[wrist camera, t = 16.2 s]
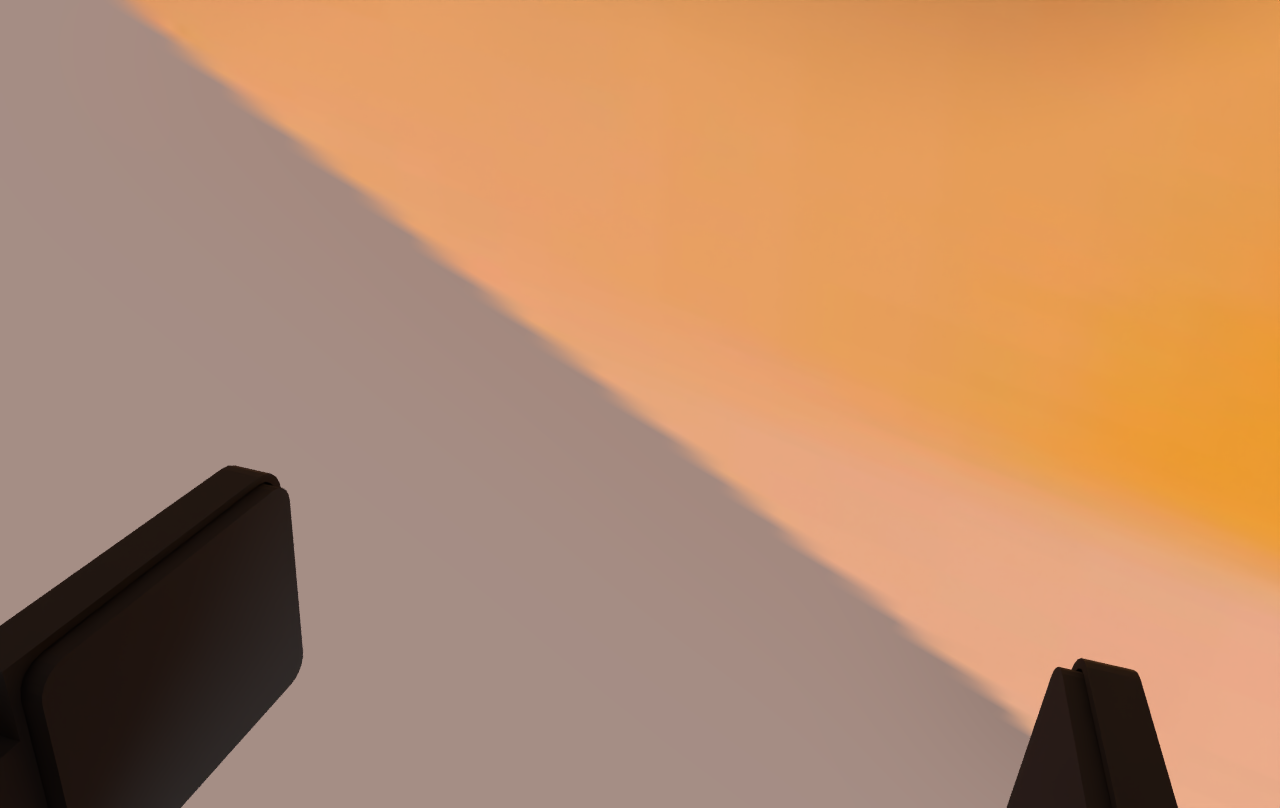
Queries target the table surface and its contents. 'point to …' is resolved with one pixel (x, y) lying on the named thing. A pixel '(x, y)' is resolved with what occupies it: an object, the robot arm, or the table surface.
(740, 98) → the table surface
